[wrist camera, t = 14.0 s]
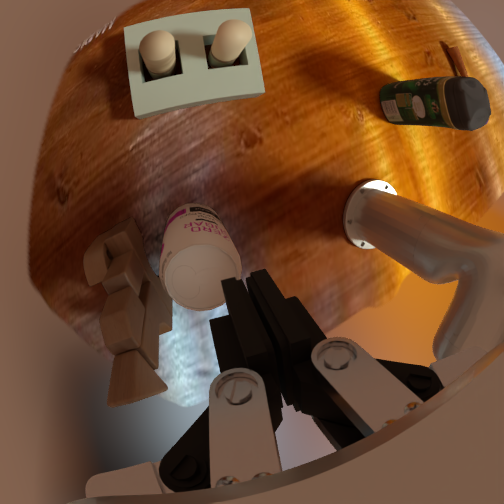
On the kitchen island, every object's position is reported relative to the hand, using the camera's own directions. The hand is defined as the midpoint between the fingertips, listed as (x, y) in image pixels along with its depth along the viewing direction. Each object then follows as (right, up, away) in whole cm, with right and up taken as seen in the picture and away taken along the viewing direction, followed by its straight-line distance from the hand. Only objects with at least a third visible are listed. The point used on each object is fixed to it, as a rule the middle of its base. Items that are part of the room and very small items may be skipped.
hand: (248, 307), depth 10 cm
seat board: (-8, +27, +19) cm, 34 cm away
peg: (-12, +26, +18) cm, 34 cm away
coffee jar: (+26, +29, +28) cm, 47 cm away
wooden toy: (-17, -1, +28) cm, 33 cm away
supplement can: (-8, +5, +28) cm, 30 cm away
